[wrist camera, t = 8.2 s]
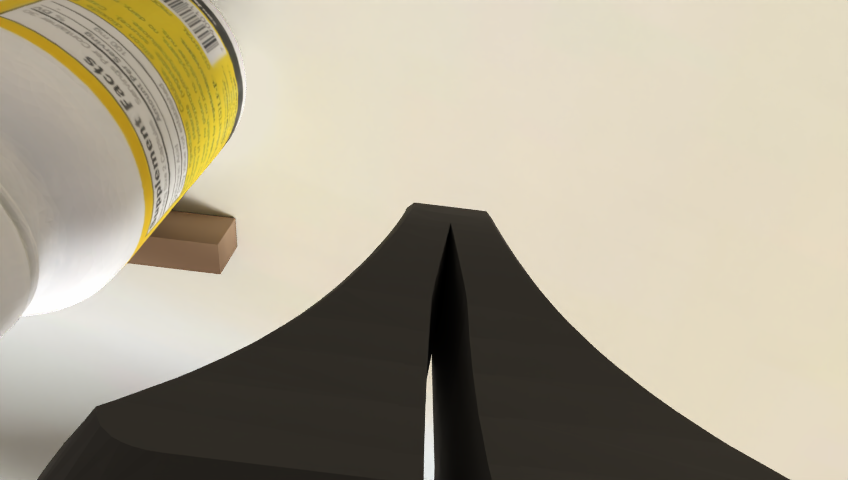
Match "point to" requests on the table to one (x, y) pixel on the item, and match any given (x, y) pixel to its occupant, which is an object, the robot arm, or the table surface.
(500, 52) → the table surface
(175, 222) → the wooden bracket frame
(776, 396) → the table surface
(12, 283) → the supplement bottle
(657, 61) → the table surface
